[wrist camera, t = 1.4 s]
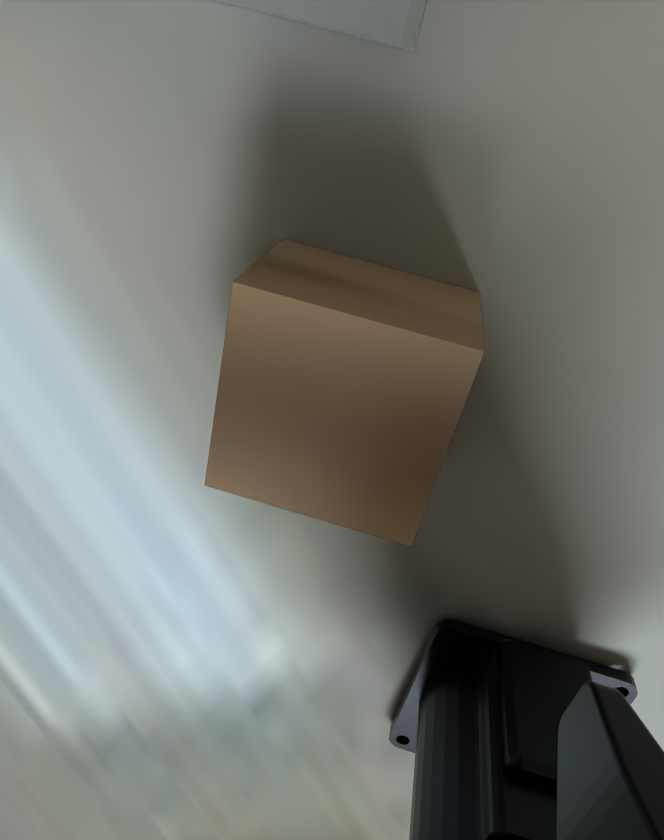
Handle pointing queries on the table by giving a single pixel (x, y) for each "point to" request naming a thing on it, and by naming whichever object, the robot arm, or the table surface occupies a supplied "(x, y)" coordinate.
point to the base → (351, 17)
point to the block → (341, 388)
